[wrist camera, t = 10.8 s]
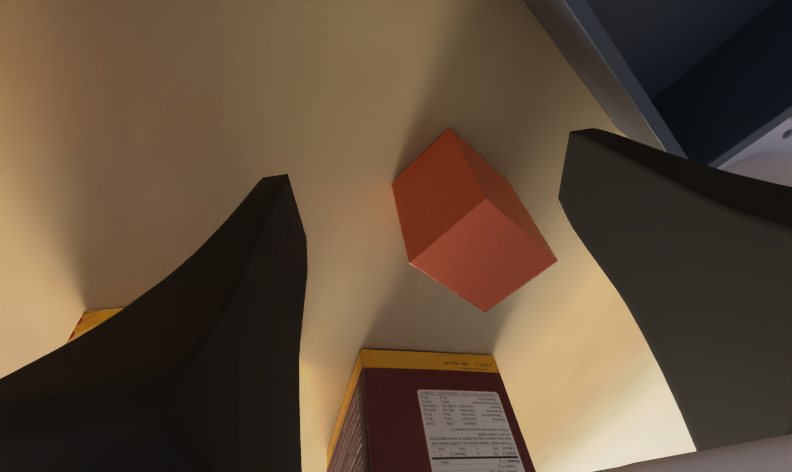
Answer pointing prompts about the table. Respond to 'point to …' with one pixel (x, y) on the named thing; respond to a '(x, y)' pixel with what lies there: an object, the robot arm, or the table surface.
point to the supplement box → (426, 416)
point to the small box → (467, 224)
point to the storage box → (681, 68)
